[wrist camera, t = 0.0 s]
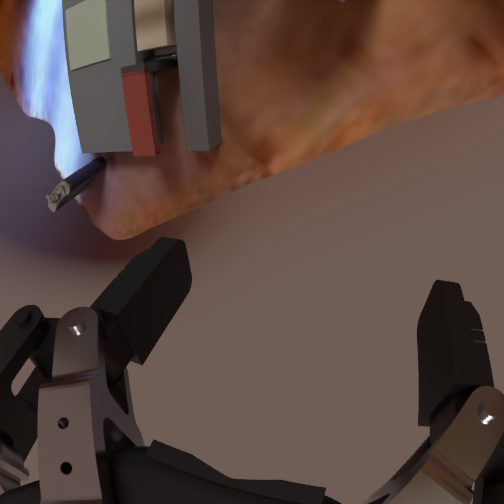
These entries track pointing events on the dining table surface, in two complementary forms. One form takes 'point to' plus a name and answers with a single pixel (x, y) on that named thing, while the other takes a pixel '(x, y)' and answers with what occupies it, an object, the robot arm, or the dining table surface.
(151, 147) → the tip lever
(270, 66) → the dining table surface
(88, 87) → the pocket board
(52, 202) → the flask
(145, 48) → the slab
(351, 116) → the dining table surface
